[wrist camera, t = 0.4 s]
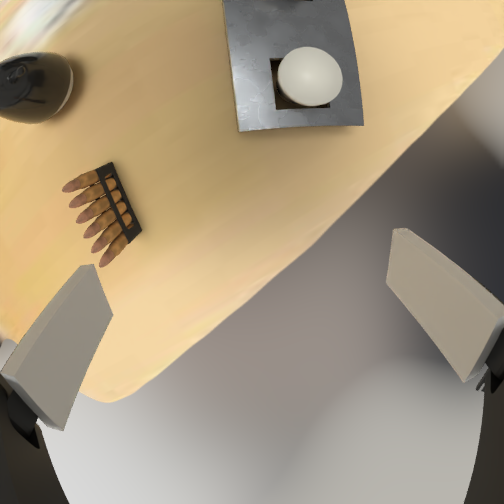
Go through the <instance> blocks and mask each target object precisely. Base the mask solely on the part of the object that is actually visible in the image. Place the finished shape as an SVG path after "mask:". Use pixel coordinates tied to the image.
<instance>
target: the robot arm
mask: <svg viewBox="0 0 504 504" xmlns="http://www.w3.org/2000/svg"><path fill="white" fill-rule="evenodd" d="M386 284H387V285H388V286H389V287H390V288H391V290H392V291H393V292H394V293H395V294H396V295H397V297H398V298H399V299H400V300H401V301H402V303H403V304H404V305H405V306H406V307H407V309H408V310H409V311H410V312H411V314H412V315H413V316H414V317H415V318H416V320H417V321H418V322H419V323H420V325H421V326H422V327H423V328H424V330H425V331H426V332H427V334H428V335H429V336H430V337H431V339H432V340H433V341H434V343H435V344H436V345H437V347H438V348H439V349H440V350H441V352H442V353H443V355H444V356H445V357H446V359H447V360H448V362H449V363H450V364H451V366H452V367H453V369H454V370H455V371H456V373H457V374H458V376H459V377H460V379H461V380H462V381H463V383H464V382H466V381H468V380H470V379H472V378H473V377H475V376H477V375H478V373H479V372H480V370H481V368H482V367H483V365H484V363H486V364H487V366H488V367H489V368H488V369H487V371H486V373H485V374H484V376H483V377H482V379H481V380H480V382H479V383H478V385H477V387H476V390H479V389H480V387H481V386H482V384H483V383H485V386H484V387H483V389H482V391H483V392H484V407H483V417H482V426H481V433H480V439H479V445H478V451H477V456H476V461H475V465H474V470H473V473H472V477H471V481H470V485H469V488H468V491H467V495H466V498H465V501H464V504H504V303H503V302H502V301H501V300H499V299H498V298H497V297H496V296H495V295H494V294H491V291H489V290H488V289H487V288H485V286H484V285H482V284H481V283H480V282H479V281H478V280H476V279H475V278H473V277H471V276H470V275H469V274H467V273H466V272H465V271H464V270H463V269H461V268H460V267H459V266H457V265H456V264H455V263H454V262H453V261H451V260H450V259H449V258H447V257H446V256H445V255H443V254H442V253H441V252H439V251H438V250H437V249H435V248H434V247H433V246H431V245H430V244H429V243H427V242H426V241H424V240H423V239H422V238H420V237H419V236H417V235H416V234H414V233H413V232H412V231H410V230H409V229H407V228H401V229H393V234H392V243H391V251H390V258H389V265H388V272H387V278H386ZM112 317H113V313H112V311H111V308H110V306H109V303H108V301H107V298H106V296H105V293H104V291H103V288H102V286H101V283H100V280H99V278H98V275H97V272H96V269H95V266H94V264H90V265H82V266H80V267H79V268H78V269H77V270H76V271H75V272H74V274H73V275H72V276H71V277H70V278H69V279H68V281H67V282H66V283H65V284H64V285H63V286H62V288H61V289H60V290H59V291H58V292H57V294H56V295H55V296H54V297H53V299H52V300H51V301H50V302H49V304H48V305H47V306H46V307H45V309H44V310H43V311H42V312H41V314H40V315H39V316H38V318H37V319H36V320H35V322H34V323H33V324H32V326H31V327H30V329H29V330H28V331H27V333H26V334H25V335H24V337H23V338H22V339H21V341H20V342H19V344H18V345H17V347H16V348H15V350H14V352H13V353H12V354H11V356H10V357H9V359H8V360H7V362H6V364H5V365H4V367H3V368H2V370H1V372H0V504H69V502H68V500H67V498H66V496H65V494H64V491H63V489H62V487H61V485H60V482H59V480H58V478H57V475H56V473H55V470H54V467H53V465H52V462H51V459H50V456H49V454H48V451H47V448H46V444H45V441H44V438H43V435H42V431H41V429H40V427H39V426H38V425H37V424H36V421H37V419H38V418H40V420H41V421H43V423H44V424H45V425H46V426H47V427H50V428H53V429H56V430H60V431H64V428H65V425H66V422H67V419H68V417H69V414H70V411H71V408H72V406H73V403H74V401H75V398H76V396H77V393H78V391H79V388H80V386H81V383H82V381H83V379H84V376H85V374H86V372H87V369H88V367H89V365H90V363H91V360H92V358H93V356H94V354H95V352H96V349H97V347H98V345H99V343H100V341H101V339H102V337H103V335H104V333H105V331H106V329H107V327H108V325H109V323H110V321H111V319H112Z"/></svg>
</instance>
